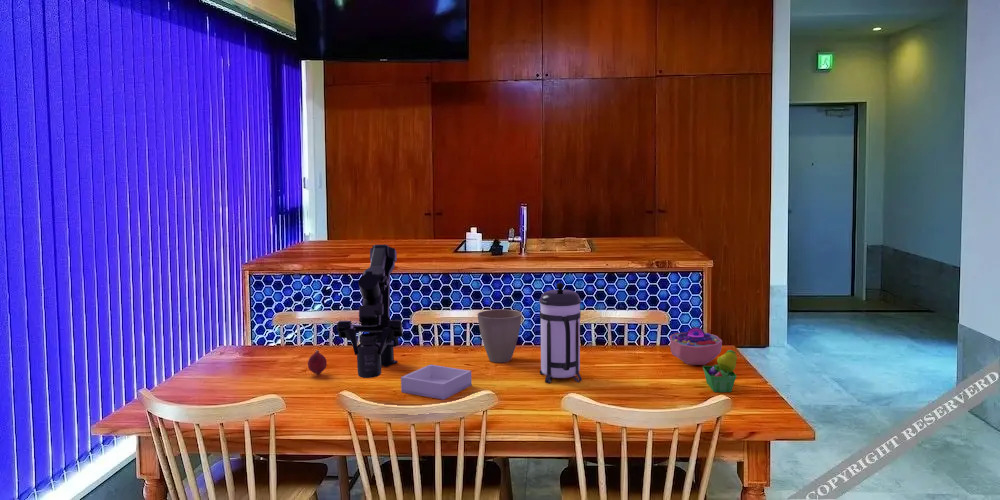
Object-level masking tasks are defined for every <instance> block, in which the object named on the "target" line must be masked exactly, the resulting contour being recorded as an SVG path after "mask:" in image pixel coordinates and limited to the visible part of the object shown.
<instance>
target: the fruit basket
mask: <svg viewBox="0 0 1000 500" xmlns="http://www.w3.org/2000/svg"><path fill="white" fill-rule="evenodd" d="M737 360H738V356H737V352H736V351H734V350H732V349H728V350H727V351H726V352H725V353H723V354H722V355H720V356H718V357H717V359H716V362H717V364H713V365H702V369H703V372H704V377H705V381H706V384H707V385H708V387H709V388H710V389H711V391H713V393H731V392H733V387H734V386H735V385H734V384H735V382H736V379H737V374H736V373H735V372H734V371H735V369H736V366H737Z"/></svg>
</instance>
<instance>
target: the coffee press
mask: <svg viewBox="0 0 1000 500" xmlns="http://www.w3.org/2000/svg"><path fill="white" fill-rule="evenodd" d="M564 287H565V285H564V283H563V282H557V284H556V289H550V290H547V291H545V292H543V293H541V296H540V298H539V300H538V302H539V304H540V311H539V318H540V370H539V374H540V375H545V379H544V383H546V384H551V383H552V381H553V379H555V378H556V379H567V378H572V379H574V381H575V382H576V383H579V382H582V380H583V378H582V376H581V374H580V371H581V359H580V358H581V350H580V349H581V338H580V337H581V322H580V321H581V315H582V314H581V303H582V298H580V295H579V293H577V292H576V291H573V290H571V289H570V290H569V289H564Z"/></svg>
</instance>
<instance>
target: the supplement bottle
mask: <svg viewBox="0 0 1000 500" xmlns="http://www.w3.org/2000/svg"><path fill="white" fill-rule="evenodd" d="M358 341H359V344H357V355H356V361H357V362H356V363H357V375H358V377H359V378H363V379H372V378H377V377H379V376H381V375H382V366H381V355H380V345H379V344H378V343H376V341H377V339H376V334H374V333H369V332H364V333H362V334H360V335H359V340H358Z"/></svg>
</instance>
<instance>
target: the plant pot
mask: <svg viewBox="0 0 1000 500" xmlns="http://www.w3.org/2000/svg"><path fill="white" fill-rule="evenodd" d="M522 315H523V313H522V312H521V311H518V310H513V309H488V310H483V311H482V310H481V311H480V312H477V321H478V327H479V332H480V335H481V341H482V343H483V347H484V349H485V353H486V355H487V357H488V360H489V361H490V362H491V363H492V362H493V363H508V362H510V361H511V360H512V357H513V355H514V353H515V349H516V346H517V342H518V338H519V335H520V330H521V322H522Z"/></svg>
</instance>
